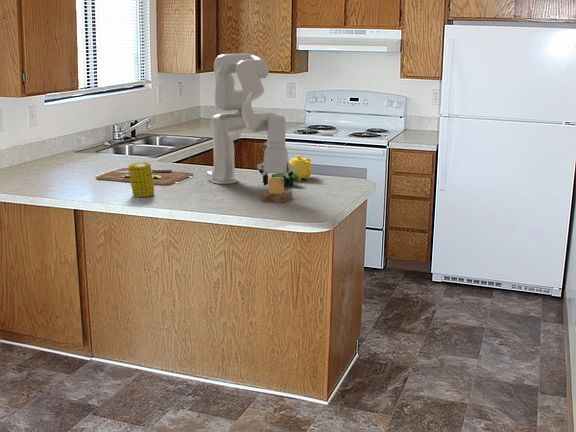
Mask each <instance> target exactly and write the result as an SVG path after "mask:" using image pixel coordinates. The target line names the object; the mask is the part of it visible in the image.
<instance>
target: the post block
mask: <svg viewBox="0 0 576 432" xmlns="http://www.w3.org/2000/svg"><path fill="white" fill-rule="evenodd" d="M292 198H293V191H292V190H286V189H284V193H282V194H271V193H269V189H268V190H265V191H264V192H262V193H260V202H270V203H277V204H278V203H280V204H284V203H286V202H288V201H289V200H291V199H292Z"/></svg>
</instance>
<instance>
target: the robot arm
mask: <svg viewBox="0 0 576 432" xmlns="http://www.w3.org/2000/svg"><path fill="white" fill-rule="evenodd" d="M213 71H214V76H215V91H214V93H215V95H214V105H215V108H216V110H218V111H221V112H223V113H218V114H215V115H213V116H212V117H211V120H210V128H211V134H212V142H213V144H212V145H213V146H212V147H213V149H212V150H213V171H207V172H206V176H207V177H211V178H210V182H211V183H214V184H216V185H217V184H218V185H227V184H228V185H230V184H235V183H238V181H239V178H238V177H236V175H235V170H236V169H235V143H234V140H233V139H232V137H231V136H230V135H232V134H240V133H244V132H245V131H246V130H249V131H250V132H252V133H262V132H267V133H266V136H267V137H266V139H267V140H266V141H264V143H263V145H264V146H266V148H265V149H264V156H263V162H260V163H258V164H257V165H256V168H257V170H258V172H259V173H260V174H261V177H262V183H263V186H267V185H269V175H268V174H269V173H270V174H283V173H284V175H285V176H286V178H285V186H284V188H289V187H290V177H291V176H292V175H293V174H294V172H295V170H296V167H294V166H293V165H291V164H290V163H289V161H290V160H289V153H288V149H287V148H286V117H285V116H284V115H279V114H277V113H274V112H262V113H254V110H253V107H252V102H253V101H256V100H257V99H259V98H260V97H261V96H262V95H263V94H264V93H265V88H264V84H263V83H262V80H263V79H265V78H267V77H268V75H269V65H268V64H267V62H266V60H264V59H263V58H261V57H259V56H256V55H254V54H251V53H245V52H243V53H225V54H223V53H222V54H220V55H217V57H216V58H215V59H214V62H213ZM232 74H236V75H237V78H238V80H239V83H240V86H241V88H235V83H236V82H235V78H234V76H233V75H232ZM261 79H262V80H261ZM228 111H229V112H228ZM230 111H234V112H230ZM225 112H226V113H225ZM262 166H263V167H262ZM289 168H291V169H292V170H291V172H290V173H289Z"/></svg>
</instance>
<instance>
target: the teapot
mask: <svg viewBox="0 0 576 432" xmlns="http://www.w3.org/2000/svg"><path fill="white" fill-rule="evenodd" d="M289 163H290V164H291V165H293V166H294V167H296V170H295V172H294V173H295V174H296V175H298V176H299V177H298V180H296V181H297V182H301V181H302V179H304V180H310V176H312V174H313V169H312V164H311V159H310V158H308V157H303V156H302V155H296V157H292V158H291V159H290V160H289ZM291 170H292V169H291V168H289V172H291Z"/></svg>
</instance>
